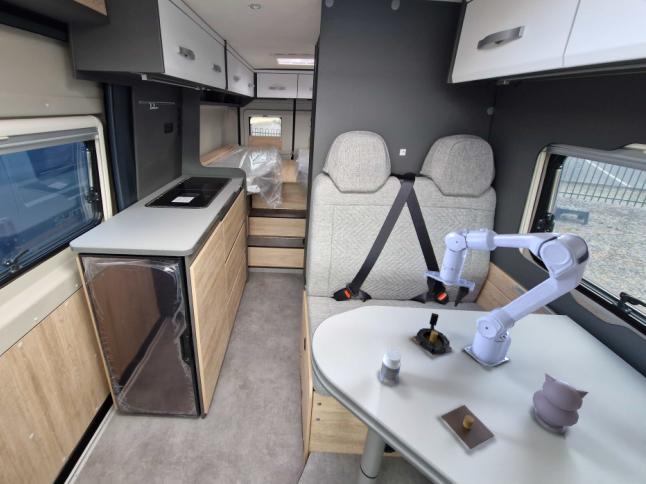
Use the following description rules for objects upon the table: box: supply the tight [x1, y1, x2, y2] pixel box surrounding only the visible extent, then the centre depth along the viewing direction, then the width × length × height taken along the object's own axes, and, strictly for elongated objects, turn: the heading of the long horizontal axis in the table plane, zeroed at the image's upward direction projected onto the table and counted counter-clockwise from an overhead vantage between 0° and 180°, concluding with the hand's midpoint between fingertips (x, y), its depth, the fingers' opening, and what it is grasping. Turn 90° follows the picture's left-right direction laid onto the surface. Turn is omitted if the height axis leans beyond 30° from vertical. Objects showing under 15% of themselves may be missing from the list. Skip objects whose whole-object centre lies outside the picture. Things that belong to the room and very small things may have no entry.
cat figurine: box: [532, 372, 589, 435], centre depth 73 cm, size 8×8×12 cm
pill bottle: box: [379, 348, 402, 383], centre depth 83 cm, size 5×5×8 cm
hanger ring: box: [415, 312, 451, 355], centre depth 96 cm, size 12×9×6 cm
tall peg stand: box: [411, 331, 452, 356], centre depth 96 cm, size 8×8×5 cm
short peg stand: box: [440, 404, 496, 450], centre depth 71 cm, size 8×8×4 cm
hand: (442, 301), depth 102 cm, fingers open, 7 cm apart
